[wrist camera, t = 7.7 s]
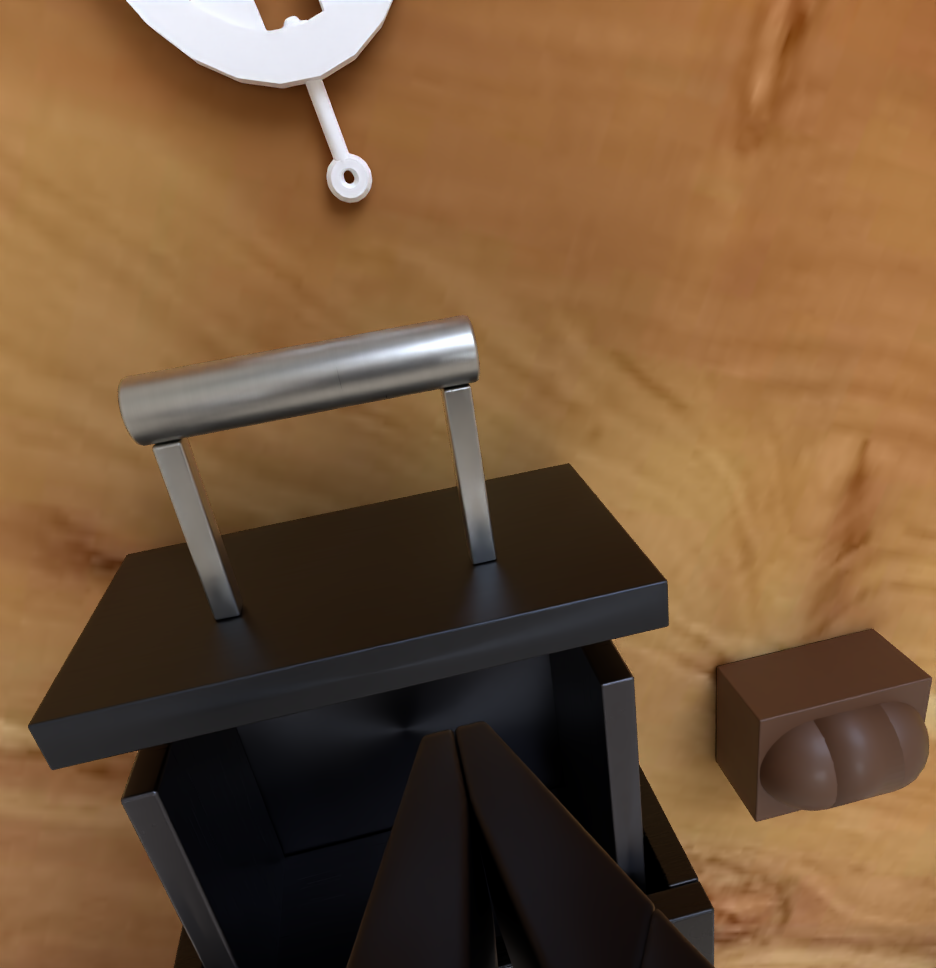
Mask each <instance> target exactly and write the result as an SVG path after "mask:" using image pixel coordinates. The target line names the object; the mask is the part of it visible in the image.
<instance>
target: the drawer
mask: <svg viewBox="0 0 936 968" xmlns="http://www.w3.org/2000/svg"><path fill="white" fill-rule="evenodd" d="M479 376H480V362H479V354H478V348H477V342H476V338H475V334H474V330H473V327H472V324H471V321H470V319H469V318H468V316H466V315H461V316H455V317H450V318H444V319H439V320H433V321H428V322H422V323H417V324H411V325H406V326H400V327H395V328H390V329H384V330H379V331H373V332H368V333H362V334H357V335H351V336H346V337H340V338H335V339H329V340H324V341H318V342H313V343H308V344H302V345H297V346H291V347H286V348H280V349H275V350H269V351H264V352H258V353H253V354H247V355H242V356H236V357H231V358H226V359H220V360H215V361H209V362H204V363H198V364H193V365H187V366H182V367H176V368H171V369H165V370H160V371H155V372H149V373H144V374H138V375H133V376H127V377H124V378H123V379H121V381H120V383H119V386H118V402H119V408H120V412H121V416H122V419H123V422H124V424H125V427H126V429H127V431H128V432H129V434H130V436H131V437H132V439H133V440H134V441H135V442H136V443H137V444H139V445H143V446H146V445H151V444H155V445H154V446H153V452H154V455H155V458H156V460H157V463H158V466H159V469H160V471H161V474H162V477H163V480H164V482H165V485H166V488H167V490H168V493H169V496H170V499H171V501H172V504H173V507H174V510H175V512H176V515H177V518H178V521H179V523H180V526H181V529H182V531H183V534H184V537H185V540H186V543H181V544H176V545H171V546H167V547H162V548H157V549H152V550H147V551H142V552H138V553H133V554H128V555H127V556H126V557H125V559H124V561H123V562H122V564H121V566H120V568H119V569H118V571H117V573H116V575H115V576H114V578H113V580H112V581H111V583H110V585H109V587H108V588H107V590H106V592H105V594H104V595H103V597H102V599H101V600H100V602H99V604H98V606H97V607H96V609H95V611H94V613H93V614H92V616H91V618H90V619H89V621H88V623H87V625H86V626H85V628H84V630H83V632H82V633H81V635H80V637H79V638H78V640H77V642H76V644H75V645H74V647H73V649H72V651H71V652H70V654H69V656H68V658H67V659H66V661H65V663H64V664H63V666H62V668H61V670H60V671H59V673H58V675H57V677H56V678H55V680H54V682H53V683H52V685H51V687H50V689H49V690H48V692H47V694H46V696H45V697H44V699H43V701H42V702H41V704H40V706H39V708H38V709H37V711H36V713H35V715H34V716H33V718H32V720H31V721H30V723H29V725H28V728H29V730H30V732H31V734H32V736H33V737H34V739H35V741H36V743H37V745H38V747H39V748H40V750H41V752H42V754H43V756H44V757H45V759H46V761H47V763H48V765H49V767H50V768H51V769H52V770H56V769H60V768H64V767H69V766H73V765H77V764H81V763H86V762H90V761H94V760H98V759H103V758H107V757H111V756H116V755H120V754H124V753H128V752H133V751H137V750H138V753H137V756H136V759H135V762H134V764H133V767H132V770H131V773H130V776H129V778H128V781H127V784H126V787H125V790H124V793H123V795H122V798H121V802H122V805H123V807H124V809H125V811H126V813H127V815H128V817H129V819H130V821H131V823H132V825H133V827H134V829H135V831H136V833H137V835H138V837H139V839H140V841H141V843H142V845H143V847H144V849H145V851H146V853H147V855H148V857H149V859H150V861H151V863H152V865H153V867H154V869H155V871H156V873H157V875H158V877H159V879H160V880H161V882H162V884H163V886H164V888H165V890H166V892H167V894H168V896H169V898H170V900H171V902H172V904H173V906H174V908H175V910H176V912H177V914H178V916H179V918H180V920H181V922H182V924H183V926H184V928H185V930H186V932H187V934H188V936H189V938H190V940H191V942H192V944H193V946H194V948H195V950H196V952H197V954H198V956H199V958H200V960H201V962H202V964H203V966H204V968H346V967H347V964H348V961H349V958H350V955H351V952H352V949H353V946H354V943H355V940H356V936H357V933H358V930H359V927H360V924H361V921H362V918H363V915H364V912H365V909H366V906H367V903H368V900H369V897H370V894H371V891H372V888H373V885H374V882H375V879H376V876H377V872H378V869H379V866H380V863H381V860H382V857H383V854H384V851H385V848H386V845H387V842H388V839H389V836H390V833H391V830H392V827H393V824H394V821H395V818H396V815H397V812H398V809H399V805H400V802H401V799H402V796H403V793H404V790H405V787H406V784H407V781H408V778H409V775H410V772H411V769H412V766H413V763H414V760H415V757H416V754H417V751H418V748H419V745H420V742H421V739H422V738H423V737H424V736H425V735H427V734H431V733H435V732H439V731H443V730H447V729H450V730H452V731H453V732H454V734H455V730H456V728H457V727H459V726H463V725H467V724H471V723H475V722H479V721H484V722H486V723H487V724H488V725H489V726H490V727H491V728H492V729H493V730H494V731H495V732H496V733H497V734H498V735H499V736H500V737H501V739H502V740H503V741H504V742H505V743H506V744H507V745H508V746H509V747H510V748H511V749H512V750H513V752H514V753H515V754H516V755H517V756H518V757H519V758H520V759H521V760H522V761H523V762H524V763H525V765H526V766H527V767H528V768H529V769H530V770H531V771H532V772H533V773H534V774H535V775H536V777H537V778H538V779H539V780H540V781H541V782H542V783H543V784H544V785H545V786H546V787H547V788H548V790H549V791H550V792H551V793H552V794H553V795H554V796H555V797H556V798H557V799H558V800H559V801H560V803H561V804H562V805H563V806H564V807H565V808H566V809H567V810H568V811H569V812H570V813H571V814H572V816H573V817H574V818H575V819H576V820H577V821H578V822H579V823H580V824H581V825H582V826H583V828H584V829H585V830H586V831H587V832H588V833H589V834H590V835H591V836H592V837H593V838H594V839H595V841H596V842H597V843H598V844H599V845H600V846H601V847H602V848H603V849H604V850H605V851H606V852H607V854H608V855H609V856H610V857H611V858H612V859H613V860H614V861H615V862H616V863H617V864H618V865H619V867H620V868H621V869H622V870H623V871H624V872H625V873H626V874H627V875H628V876H629V877H630V879H631V880H632V881H633V882H634V883H635V884H636V885H637V886H638V887H639V888H640V889H641V890H642V892H643V893H644V894H645V895H646V879H645V861H644V844H643V827H642V810H641V792H640V775H639V758H638V741H637V724H636V706H635V689H634V677H633V676H632V674H631V672H630V671H629V669H628V667H627V666H626V664H625V662H624V661H623V659H622V657H621V656H620V654H619V652H618V650H617V649H616V647H615V645H614V644H613V642H612V639H616V638H620V637H624V636H629V635H633V634H637V633H642V632H646V631H650V630H654V629H659V628H663V627H667V626H668V625H669V617H668V584H667V580H666V579H665V578H664V576H663V575H662V574H661V573H660V572H659V570H658V569H657V568H656V567H655V566H654V564H653V563H652V562H651V561H650V560H649V558H648V557H647V556H646V555H645V554H644V552H643V551H642V550H641V549H640V548H639V546H638V545H637V544H636V543H635V542H634V540H633V539H632V538H631V537H630V536H629V534H628V533H627V532H626V531H625V530H624V528H623V527H622V526H621V525H620V524H619V522H618V521H617V520H616V519H615V518H614V516H613V515H612V514H611V513H610V512H609V510H608V509H607V508H606V507H605V506H604V504H603V503H602V502H601V501H600V499H599V498H598V497H597V496H596V495H595V493H594V492H593V491H592V490H591V489H590V487H589V486H588V485H587V484H586V483H585V481H584V480H583V479H582V478H581V477H580V475H579V474H578V473H577V472H576V471H575V469H574V468H573V467H572V466H571V465H570V464H569V463H567V464H563V465H558V466H553V467H548V468H543V469H538V470H534V471H529V472H524V473H519V474H514V475H510V476H505V477H500V478H495V479H490V480H485V476H484V470H483V463H482V456H481V450H480V443H479V436H478V430H477V423H476V416H475V410H474V403H473V396H472V390H471V386H470V385H469V383H473V382H476V381H478V380H479ZM437 389H441V394H442V400H443V406H444V412H445V418H446V424H447V430H448V435H449V441H450V447H451V453H452V459H453V465H454V471H455V477H456V483H457V486H456V487H452V488H447V489H442V490H437V491H432V492H427V493H423V494H418V495H413V496H408V497H403V498H398V499H394V500H389V501H384V502H379V503H374V504H369V505H365V506H360V507H355V508H350V509H345V510H340V511H336V512H331V513H326V514H321V515H316V516H312V517H307V518H302V519H297V520H292V521H287V522H283V523H278V524H273V525H268V526H263V527H258V528H254V529H249V530H244V531H239V532H234V533H229V534H225V535H220V532H219V529H218V526H217V523H216V520H215V517H214V514H213V511H212V508H211V505H210V502H209V499H208V496H207V493H206V490H205V487H204V485H203V482H202V479H201V476H200V473H199V470H198V467H197V464H196V461H195V458H194V455H193V452H192V449H191V446H190V443H189V440H188V437H193V436H198V435H203V434H208V433H214V432H219V431H224V430H229V429H234V428H239V427H245V426H250V425H255V424H260V423H265V422H271V421H276V420H281V419H286V418H291V417H296V416H302V415H307V414H312V413H317V412H322V411H328V410H333V409H338V408H343V407H348V406H354V405H359V404H364V403H369V402H374V401H379V400H385V399H390V398H395V397H400V396H405V395H411V394H416V393H421V392H426V391H431V390H437ZM455 737H456V736H455ZM456 742H457V741H456ZM457 746H458V745H457ZM458 751H459V750H458ZM477 839H478V838H477ZM479 848H480V847H479ZM480 853H481V852H480ZM481 857H482V856H481ZM482 862H483V861H482ZM483 867H484V865H483ZM484 871H485V870H484ZM485 876H486V874H485ZM486 881H487V879H486ZM487 885H488V883H487ZM488 890H489V888H488ZM489 896H490V892H489ZM490 901H491V907H492V913H493V921H494V929H495V936H498V935H501V931H500V928H499V925H498V921H497V918H496V915H495V912H494V908H493V904H492V900H491V896H490Z"/></svg>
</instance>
